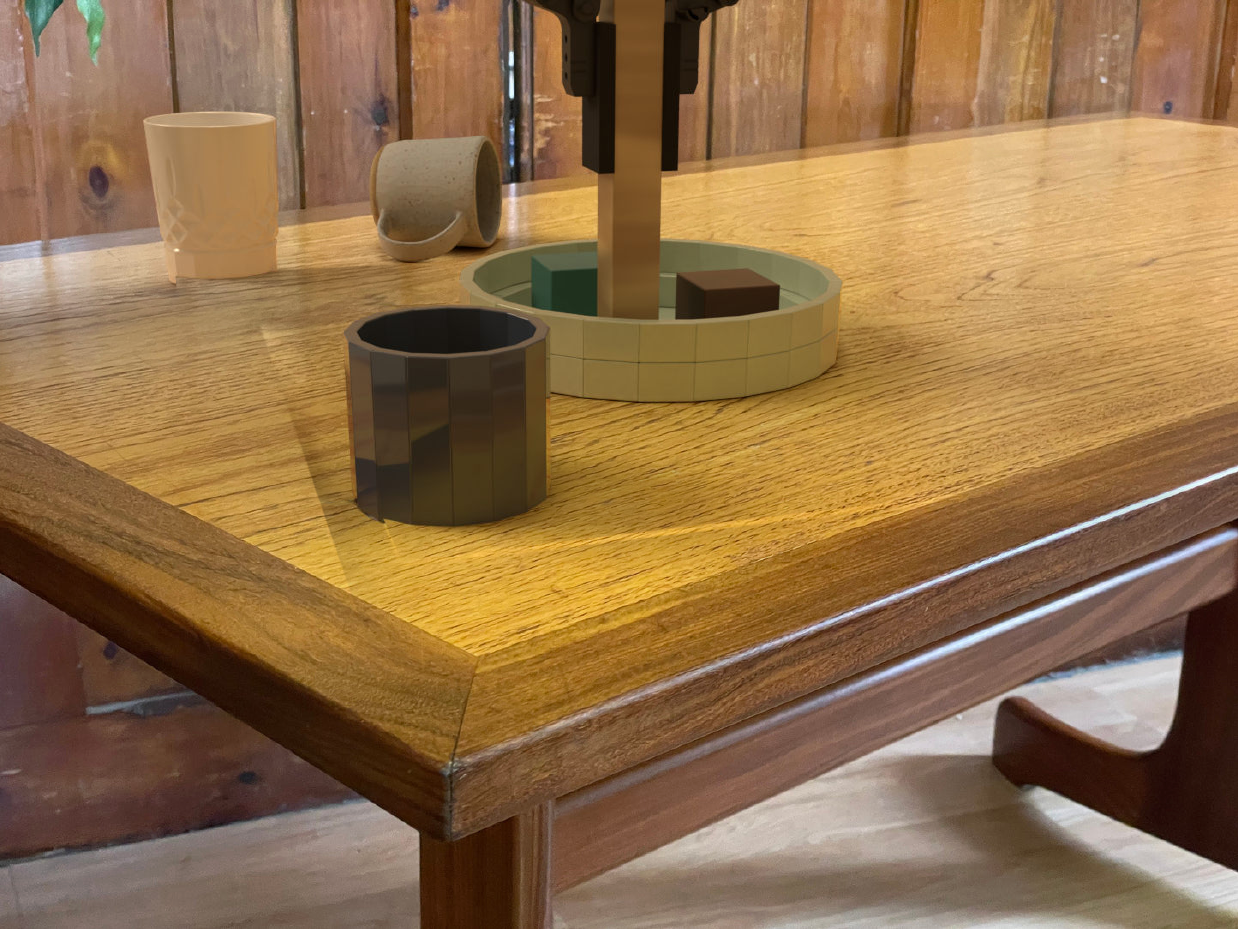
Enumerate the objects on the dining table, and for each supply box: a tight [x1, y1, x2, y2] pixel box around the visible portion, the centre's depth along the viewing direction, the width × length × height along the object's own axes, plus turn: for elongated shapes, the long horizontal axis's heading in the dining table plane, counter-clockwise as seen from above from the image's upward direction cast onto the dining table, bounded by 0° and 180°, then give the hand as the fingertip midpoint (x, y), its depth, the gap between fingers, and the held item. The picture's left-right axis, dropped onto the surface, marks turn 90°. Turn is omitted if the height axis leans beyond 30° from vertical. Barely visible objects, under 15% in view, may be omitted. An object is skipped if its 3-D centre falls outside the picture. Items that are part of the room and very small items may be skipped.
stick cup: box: [342, 304, 552, 528], centre depth 51 cm, size 7×7×7 cm
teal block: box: [531, 251, 598, 317], centre depth 73 cm, size 4×4×4 cm
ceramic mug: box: [368, 135, 503, 263], centre depth 96 cm, size 11×8×8 cm
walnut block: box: [675, 268, 780, 320], centre depth 69 cm, size 4×4×4 cm
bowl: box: [458, 237, 844, 403], centre depth 71 cm, size 19×19×4 cm
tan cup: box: [142, 111, 279, 285], centre depth 86 cm, size 8×8×10 cm
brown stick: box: [597, 0, 665, 320], centre depth 64 cm, size 2×2×20 cm
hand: (629, 167), depth 64 cm, fingers closed on brown stick, 2 cm apart
